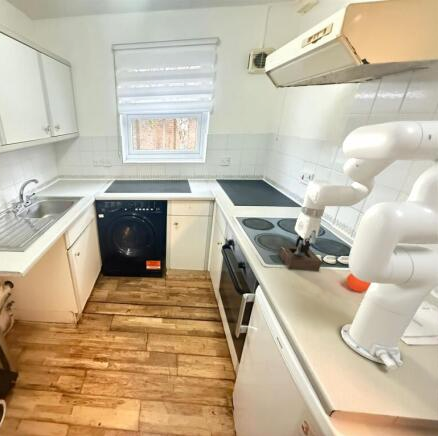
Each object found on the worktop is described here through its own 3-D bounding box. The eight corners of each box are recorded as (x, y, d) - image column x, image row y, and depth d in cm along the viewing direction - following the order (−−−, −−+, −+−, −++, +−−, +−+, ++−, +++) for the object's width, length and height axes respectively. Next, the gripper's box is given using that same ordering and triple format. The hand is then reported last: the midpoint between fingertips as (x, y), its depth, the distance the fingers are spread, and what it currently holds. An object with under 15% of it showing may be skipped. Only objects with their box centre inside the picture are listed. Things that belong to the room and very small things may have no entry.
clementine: (342, 280, 95) (347, 265, 92) (364, 285, 92) (371, 270, 89) (345, 291, 89) (351, 275, 86) (369, 298, 85) (376, 282, 83)
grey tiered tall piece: (299, 258, 109) (306, 235, 105) (308, 265, 104) (315, 241, 99) (287, 258, 109) (293, 235, 104) (295, 266, 104) (301, 241, 99)
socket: (318, 271, 100) (322, 261, 98) (288, 269, 102) (291, 259, 100) (305, 256, 111) (308, 247, 109) (278, 254, 113) (280, 245, 111)
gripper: (293, 203, 105) (284, 240, 112) (312, 218, 90) (300, 259, 97) (312, 204, 104) (301, 241, 111) (334, 219, 89) (320, 260, 96)
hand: (301, 249), depth 104 cm, fingers closed on grey tiered tall piece, 3 cm apart
